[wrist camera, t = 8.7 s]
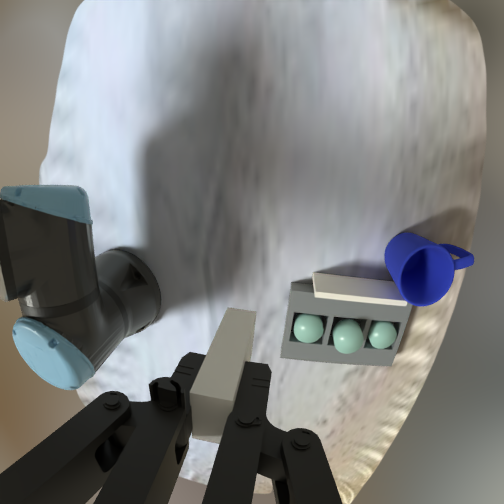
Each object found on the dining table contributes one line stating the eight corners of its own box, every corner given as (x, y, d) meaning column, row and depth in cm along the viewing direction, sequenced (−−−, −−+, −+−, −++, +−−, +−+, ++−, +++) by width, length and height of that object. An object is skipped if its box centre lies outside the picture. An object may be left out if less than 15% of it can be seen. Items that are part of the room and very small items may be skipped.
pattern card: (311, 279, 46) (314, 299, 39) (313, 272, 45) (315, 291, 39) (392, 288, 44) (405, 308, 38) (393, 281, 44) (407, 301, 37)
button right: (363, 337, 47) (366, 348, 44) (370, 314, 45) (374, 324, 43) (387, 339, 46) (392, 349, 44) (394, 316, 45) (400, 325, 42)
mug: (448, 265, 42) (477, 290, 32) (381, 283, 44) (400, 313, 35) (444, 216, 40) (477, 231, 30) (374, 232, 42) (394, 253, 33)
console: (281, 347, 50) (280, 357, 47) (291, 282, 46) (291, 290, 43) (387, 356, 48) (391, 366, 45) (407, 294, 44) (413, 303, 41)
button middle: (329, 341, 46) (331, 352, 43) (335, 317, 44) (337, 327, 41) (356, 343, 45) (359, 354, 42) (363, 319, 44) (367, 330, 41)
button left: (292, 331, 48) (291, 341, 45) (296, 307, 47) (296, 316, 44) (319, 334, 48) (320, 344, 45) (324, 310, 46) (325, 319, 43)
